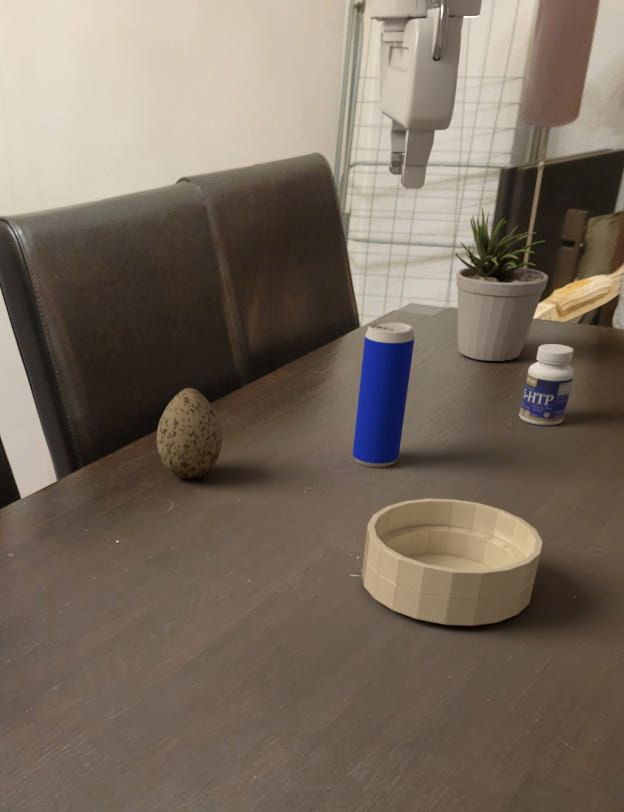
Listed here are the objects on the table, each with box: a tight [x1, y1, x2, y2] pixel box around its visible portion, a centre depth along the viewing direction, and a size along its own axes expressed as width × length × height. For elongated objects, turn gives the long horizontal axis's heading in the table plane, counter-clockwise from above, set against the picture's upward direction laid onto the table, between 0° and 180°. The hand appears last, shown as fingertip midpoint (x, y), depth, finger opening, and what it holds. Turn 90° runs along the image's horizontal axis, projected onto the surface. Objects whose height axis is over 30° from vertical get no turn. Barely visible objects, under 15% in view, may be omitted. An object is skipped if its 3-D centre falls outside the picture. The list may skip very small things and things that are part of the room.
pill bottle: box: [518, 343, 575, 426], centre depth 118 cm, size 5×5×9 cm
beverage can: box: [352, 321, 415, 468], centre depth 106 cm, size 5×5×15 cm
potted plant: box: [455, 207, 549, 361], centre depth 139 cm, size 13×14×20 cm
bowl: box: [361, 498, 544, 627], centre depth 83 cm, size 14×14×6 cm
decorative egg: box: [156, 387, 223, 479], centre depth 104 cm, size 7×7×10 cm
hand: (404, 180), depth 85 cm, fingers open, 8 cm apart
